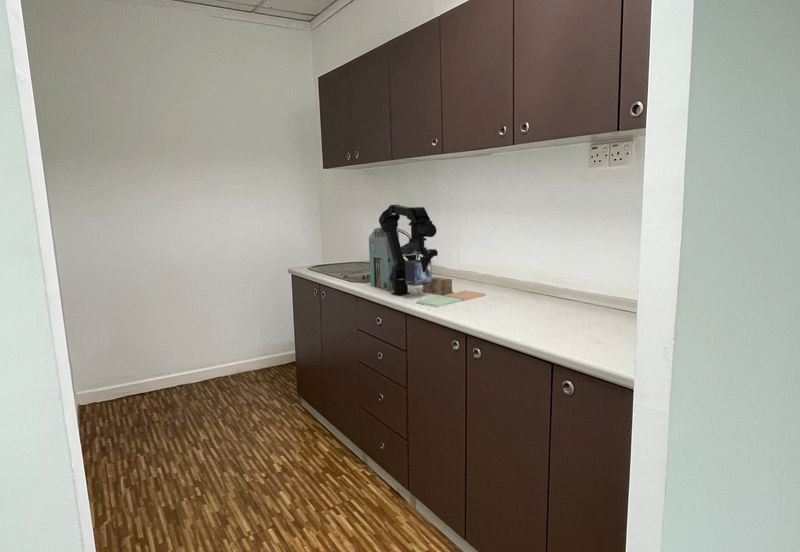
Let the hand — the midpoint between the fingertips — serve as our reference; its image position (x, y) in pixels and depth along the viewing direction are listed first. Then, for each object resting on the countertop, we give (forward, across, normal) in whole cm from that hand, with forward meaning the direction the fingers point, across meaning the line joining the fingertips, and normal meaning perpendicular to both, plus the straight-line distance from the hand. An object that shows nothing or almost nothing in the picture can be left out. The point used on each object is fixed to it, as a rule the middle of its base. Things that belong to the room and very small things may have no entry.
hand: (418, 271), depth 229 cm
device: (+13, -34, +10) cm, 38 cm away
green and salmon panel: (+12, +12, +9) cm, 19 cm away
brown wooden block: (+12, -4, +16) cm, 21 cm away
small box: (+6, 0, 0) cm, 6 cm away
